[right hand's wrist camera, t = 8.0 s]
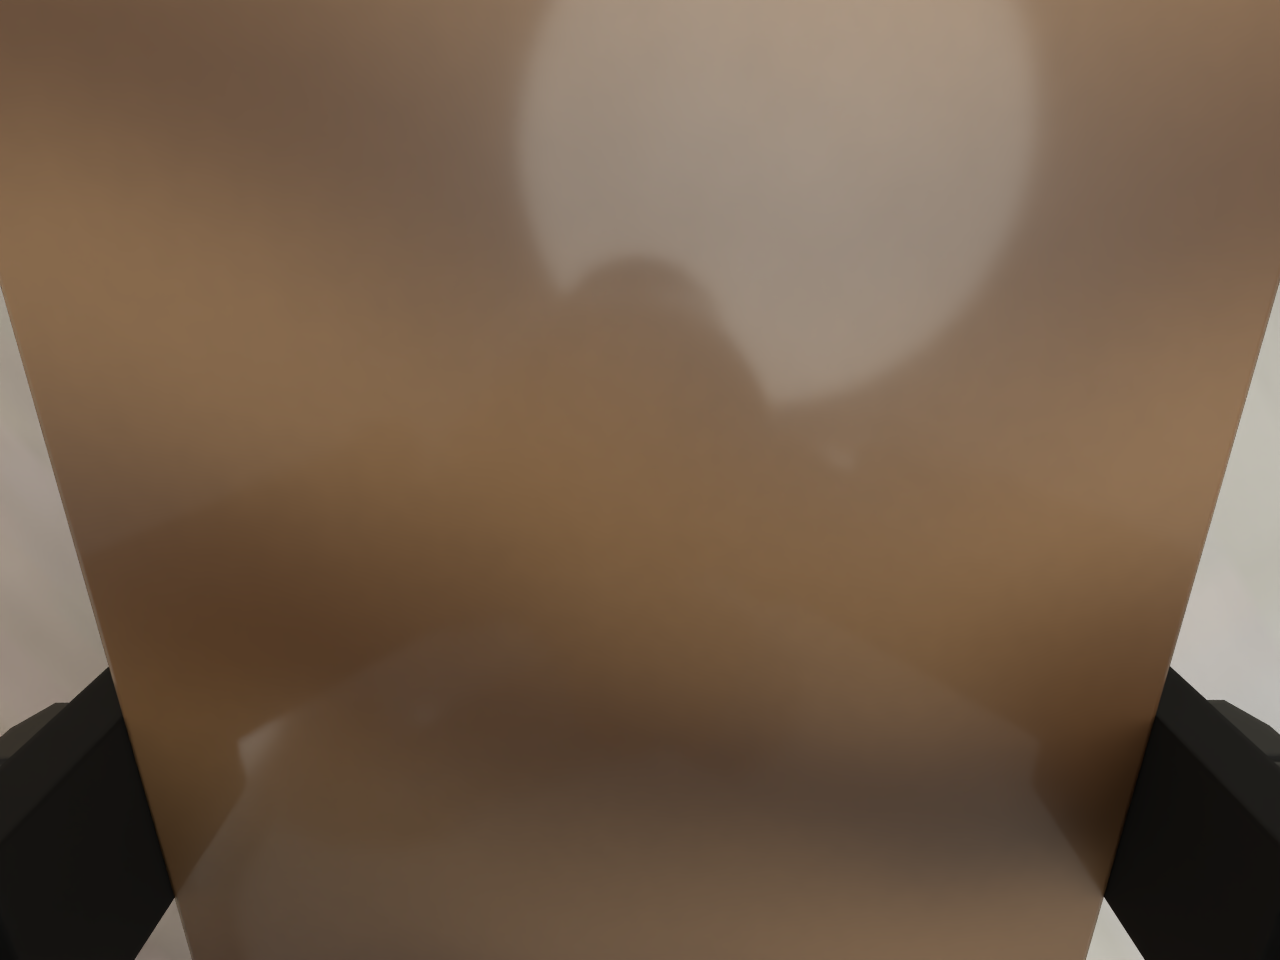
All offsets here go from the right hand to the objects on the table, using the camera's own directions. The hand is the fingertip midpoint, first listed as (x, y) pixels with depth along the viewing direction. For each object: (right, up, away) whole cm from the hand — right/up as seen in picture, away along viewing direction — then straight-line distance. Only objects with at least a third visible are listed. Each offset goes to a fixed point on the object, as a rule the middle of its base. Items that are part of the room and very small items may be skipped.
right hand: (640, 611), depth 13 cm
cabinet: (0, +9, +2) cm, 9 cm away
